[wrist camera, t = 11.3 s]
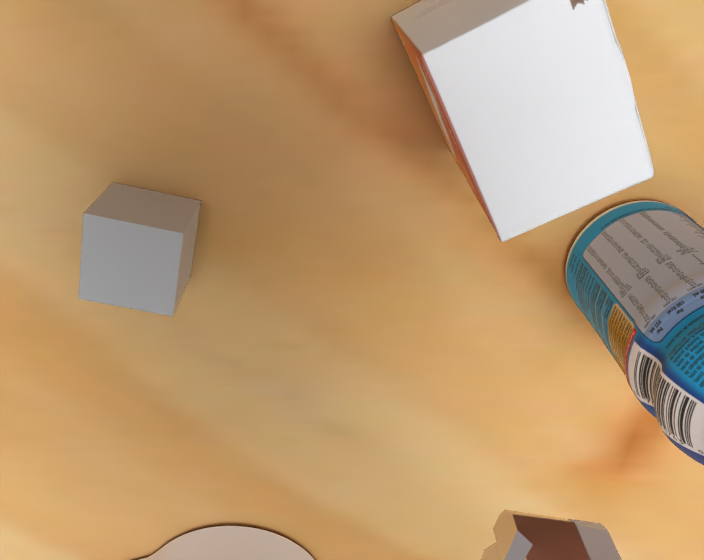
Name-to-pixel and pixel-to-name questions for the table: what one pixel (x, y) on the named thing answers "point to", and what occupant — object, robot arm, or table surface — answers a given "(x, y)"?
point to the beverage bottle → (649, 308)
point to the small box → (529, 103)
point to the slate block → (138, 248)
